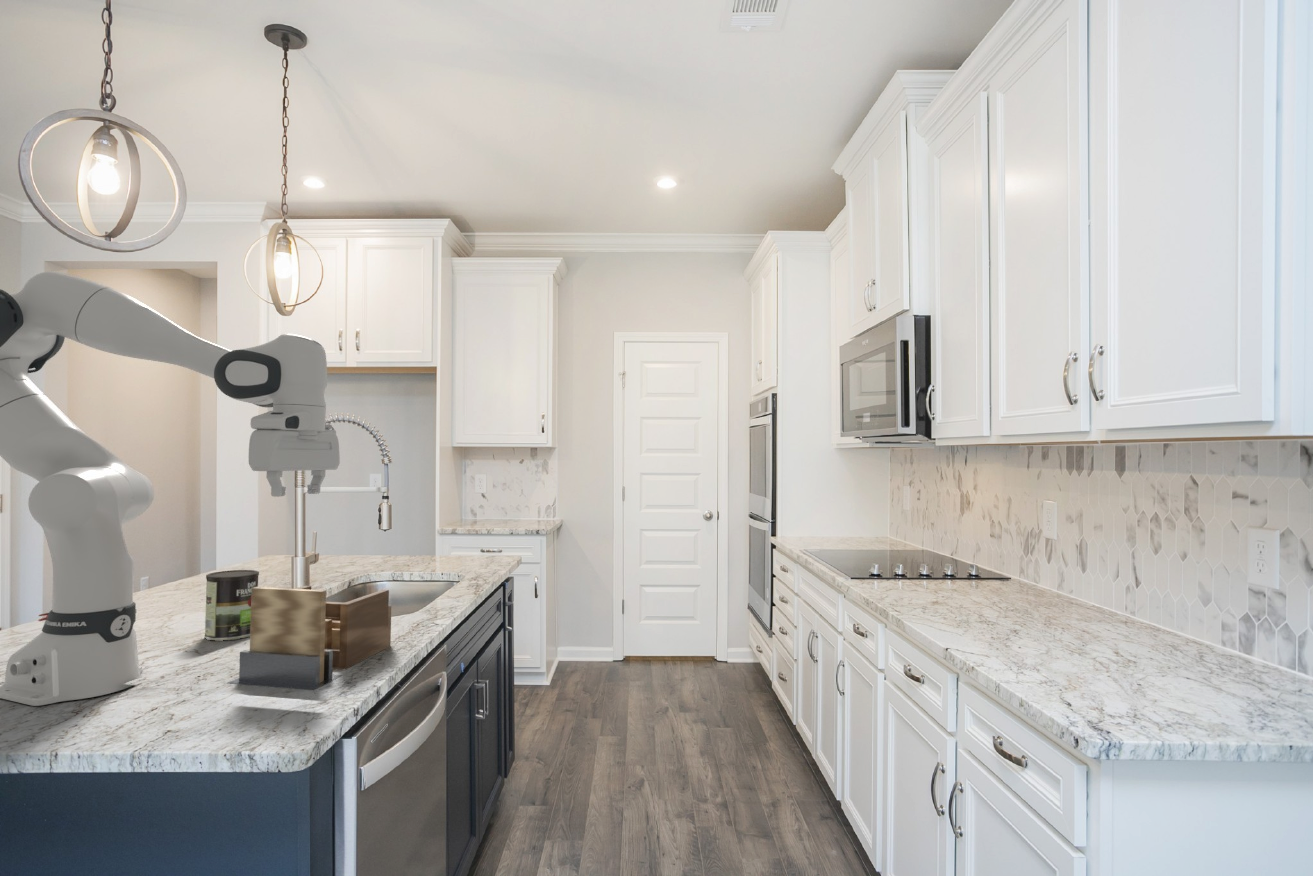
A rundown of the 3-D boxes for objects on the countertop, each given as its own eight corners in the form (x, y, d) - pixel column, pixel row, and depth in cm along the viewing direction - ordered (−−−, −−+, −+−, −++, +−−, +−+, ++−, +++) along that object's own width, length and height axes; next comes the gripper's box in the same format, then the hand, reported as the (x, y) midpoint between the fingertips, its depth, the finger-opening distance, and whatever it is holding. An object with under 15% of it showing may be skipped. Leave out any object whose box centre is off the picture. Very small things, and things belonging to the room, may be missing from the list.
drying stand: (226, 691, 119) (227, 654, 119) (260, 677, 126) (261, 641, 127) (313, 698, 116) (314, 660, 116) (342, 683, 124) (343, 647, 124)
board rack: (252, 670, 130) (254, 599, 130) (308, 647, 146) (309, 584, 146) (344, 677, 127) (346, 605, 127) (391, 653, 143) (392, 588, 143)
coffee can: (267, 630, 159) (269, 570, 159) (233, 642, 149) (235, 578, 149) (228, 628, 161) (230, 568, 161) (192, 639, 150) (194, 576, 151)
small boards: (275, 659, 132) (276, 618, 133) (291, 652, 137) (292, 613, 137) (342, 664, 130) (344, 622, 130) (356, 657, 134) (357, 616, 135)
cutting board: (248, 677, 122) (251, 588, 122) (253, 675, 123) (256, 586, 123) (319, 682, 119) (321, 591, 120) (323, 680, 121) (326, 590, 121)
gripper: (321, 424, 138) (318, 491, 138) (242, 418, 118) (239, 497, 118) (349, 424, 137) (346, 492, 137) (274, 418, 117) (271, 498, 117)
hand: (296, 495), depth 127 cm, fingers open, 8 cm apart
